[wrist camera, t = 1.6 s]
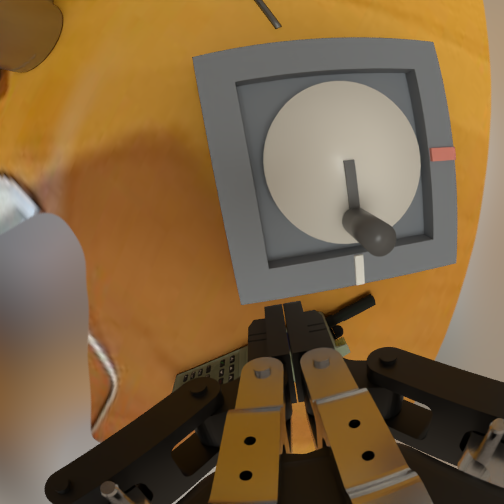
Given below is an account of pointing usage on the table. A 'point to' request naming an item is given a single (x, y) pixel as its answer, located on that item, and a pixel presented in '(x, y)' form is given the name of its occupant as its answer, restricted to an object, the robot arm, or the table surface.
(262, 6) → the rod
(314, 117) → the dial
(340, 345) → the handheld radio
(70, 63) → the table surface
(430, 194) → the panel
